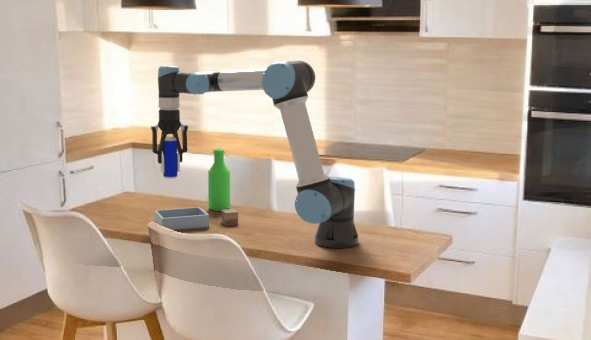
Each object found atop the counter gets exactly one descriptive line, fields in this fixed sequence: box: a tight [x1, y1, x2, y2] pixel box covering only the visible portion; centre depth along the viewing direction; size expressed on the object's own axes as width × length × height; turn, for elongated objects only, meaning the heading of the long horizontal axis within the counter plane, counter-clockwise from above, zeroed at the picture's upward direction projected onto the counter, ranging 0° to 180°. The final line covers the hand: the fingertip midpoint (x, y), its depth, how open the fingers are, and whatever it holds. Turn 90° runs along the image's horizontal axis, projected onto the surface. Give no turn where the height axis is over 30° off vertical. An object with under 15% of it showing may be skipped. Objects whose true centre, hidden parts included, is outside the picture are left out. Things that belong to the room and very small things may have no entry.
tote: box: [153, 206, 210, 232], centre depth 281 cm, size 14×18×5 cm
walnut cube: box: [221, 208, 239, 227], centre depth 285 cm, size 5×5×5 cm
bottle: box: [207, 148, 231, 212], centre depth 306 cm, size 9×9×25 cm
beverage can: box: [162, 135, 178, 180], centre depth 275 cm, size 5×5×15 cm
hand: (170, 171), depth 276 cm, fingers closed on beverage can, 5 cm apart
